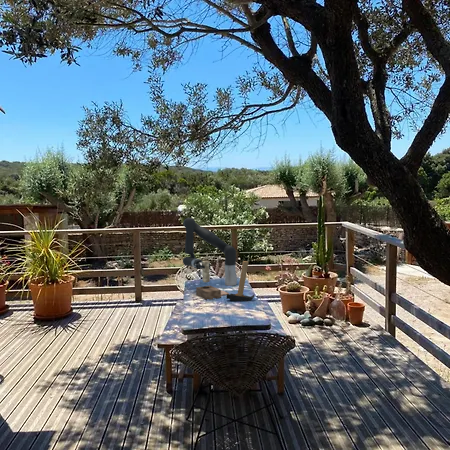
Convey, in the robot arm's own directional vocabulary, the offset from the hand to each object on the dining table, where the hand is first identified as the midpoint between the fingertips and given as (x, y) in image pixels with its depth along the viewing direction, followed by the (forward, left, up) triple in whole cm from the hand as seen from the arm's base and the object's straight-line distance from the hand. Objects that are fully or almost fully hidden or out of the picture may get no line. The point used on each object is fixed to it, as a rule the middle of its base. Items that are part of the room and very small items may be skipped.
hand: (207, 266), depth 327 cm
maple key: (0, -3, -12) cm, 12 cm away
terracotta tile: (-12, -1, -23) cm, 26 cm away
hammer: (-14, +25, -23) cm, 37 cm away
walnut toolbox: (0, +1, -23) cm, 23 cm away
